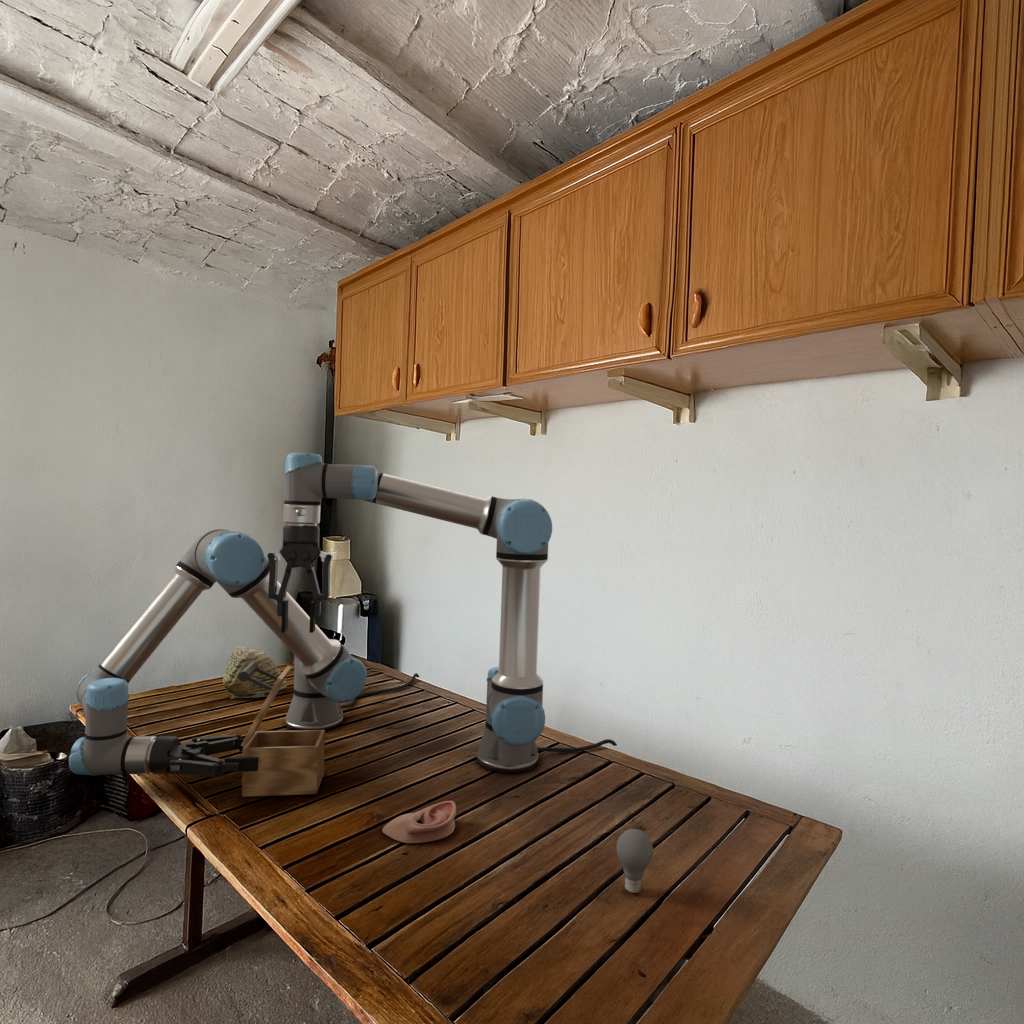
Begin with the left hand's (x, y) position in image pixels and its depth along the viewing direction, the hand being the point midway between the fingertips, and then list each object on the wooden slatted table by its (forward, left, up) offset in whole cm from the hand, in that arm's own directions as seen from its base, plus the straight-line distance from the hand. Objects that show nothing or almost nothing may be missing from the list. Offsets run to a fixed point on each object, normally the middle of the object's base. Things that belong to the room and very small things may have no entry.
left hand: (264, 753), depth 137 cm
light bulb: (-21, +78, -7) cm, 81 cm away
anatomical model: (-11, +38, -7) cm, 40 cm away
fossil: (-31, -58, -7) cm, 66 cm away
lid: (0, 0, +11) cm, 11 cm away
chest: (-3, +3, -7) cm, 8 cm away
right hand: (-4, +4, +27) cm, 28 cm away
